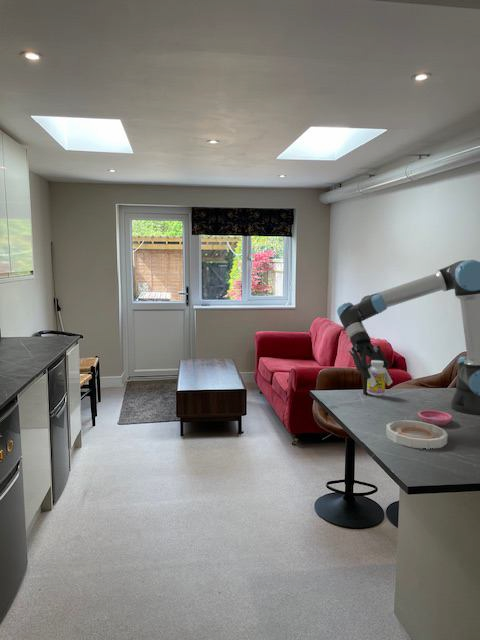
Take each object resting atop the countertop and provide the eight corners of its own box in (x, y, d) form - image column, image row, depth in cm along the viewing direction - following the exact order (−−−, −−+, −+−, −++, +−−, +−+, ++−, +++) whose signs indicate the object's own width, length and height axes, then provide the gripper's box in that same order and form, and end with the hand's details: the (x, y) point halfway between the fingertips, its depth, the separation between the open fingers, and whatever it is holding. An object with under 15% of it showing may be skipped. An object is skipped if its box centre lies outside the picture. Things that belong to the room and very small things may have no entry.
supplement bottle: (365, 394, 178) (367, 361, 177) (367, 390, 184) (369, 358, 183) (383, 396, 176) (385, 363, 174) (385, 392, 182) (387, 360, 180)
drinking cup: (375, 392, 226) (377, 352, 224) (378, 396, 218) (380, 355, 216) (359, 391, 227) (361, 351, 224) (361, 396, 219) (363, 354, 217)
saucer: (418, 424, 181) (418, 417, 180) (417, 415, 192) (418, 408, 192) (453, 429, 176) (453, 421, 176) (450, 419, 188) (450, 411, 188)
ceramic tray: (439, 430, 174) (440, 423, 173) (451, 451, 154) (452, 442, 154) (384, 425, 178) (384, 418, 178) (388, 445, 159) (389, 436, 158)
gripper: (373, 340, 196) (397, 387, 182) (334, 342, 188) (356, 391, 175) (382, 329, 190) (408, 377, 177) (342, 331, 183) (365, 381, 170)
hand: (382, 384), depth 176 cm, fingers closed on supplement bottle, 7 cm apart
